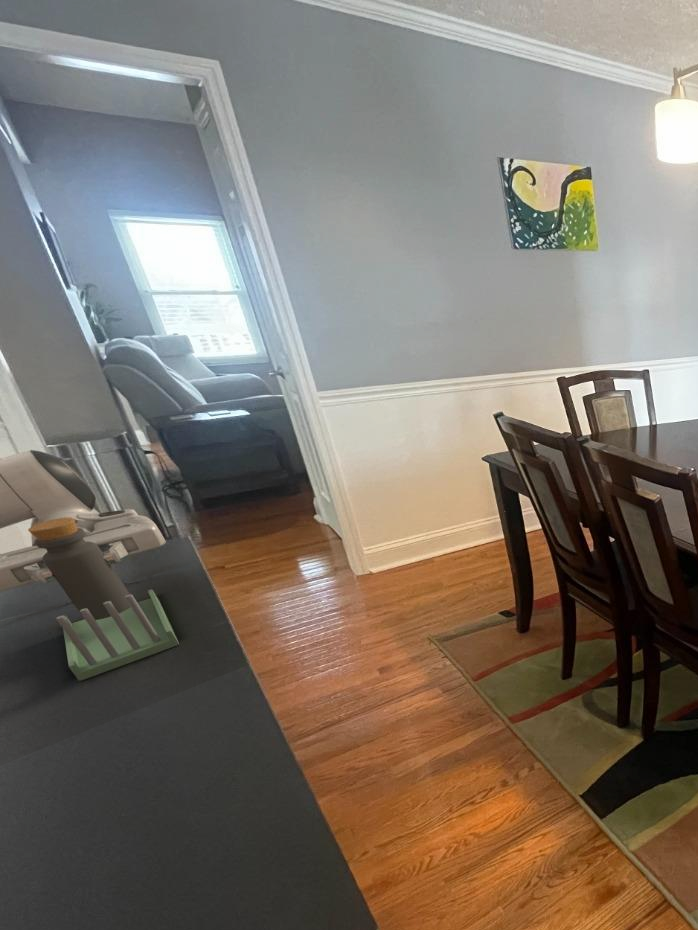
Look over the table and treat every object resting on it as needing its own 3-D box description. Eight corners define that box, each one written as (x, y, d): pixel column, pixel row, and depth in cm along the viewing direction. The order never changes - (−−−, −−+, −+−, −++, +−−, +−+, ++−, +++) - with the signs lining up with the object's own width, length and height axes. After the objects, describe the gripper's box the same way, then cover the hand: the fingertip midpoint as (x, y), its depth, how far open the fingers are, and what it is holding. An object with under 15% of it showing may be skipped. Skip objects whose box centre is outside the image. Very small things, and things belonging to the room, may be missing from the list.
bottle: (74, 618, 91) (11, 531, 84) (117, 598, 96) (61, 514, 89) (101, 622, 90) (40, 533, 83) (144, 602, 95) (89, 516, 88)
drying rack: (79, 681, 83) (39, 627, 79) (70, 631, 95) (35, 581, 91) (179, 644, 91) (148, 593, 86) (159, 602, 103) (131, 555, 98)
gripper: (-36, 549, 89) (-40, 577, 81) (144, 505, 102) (156, 525, 94) (-8, 585, 92) (-9, 616, 84) (163, 538, 105) (177, 560, 97)
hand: (80, 567), depth 89 cm, fingers closed on bottle, 5 cm apart
